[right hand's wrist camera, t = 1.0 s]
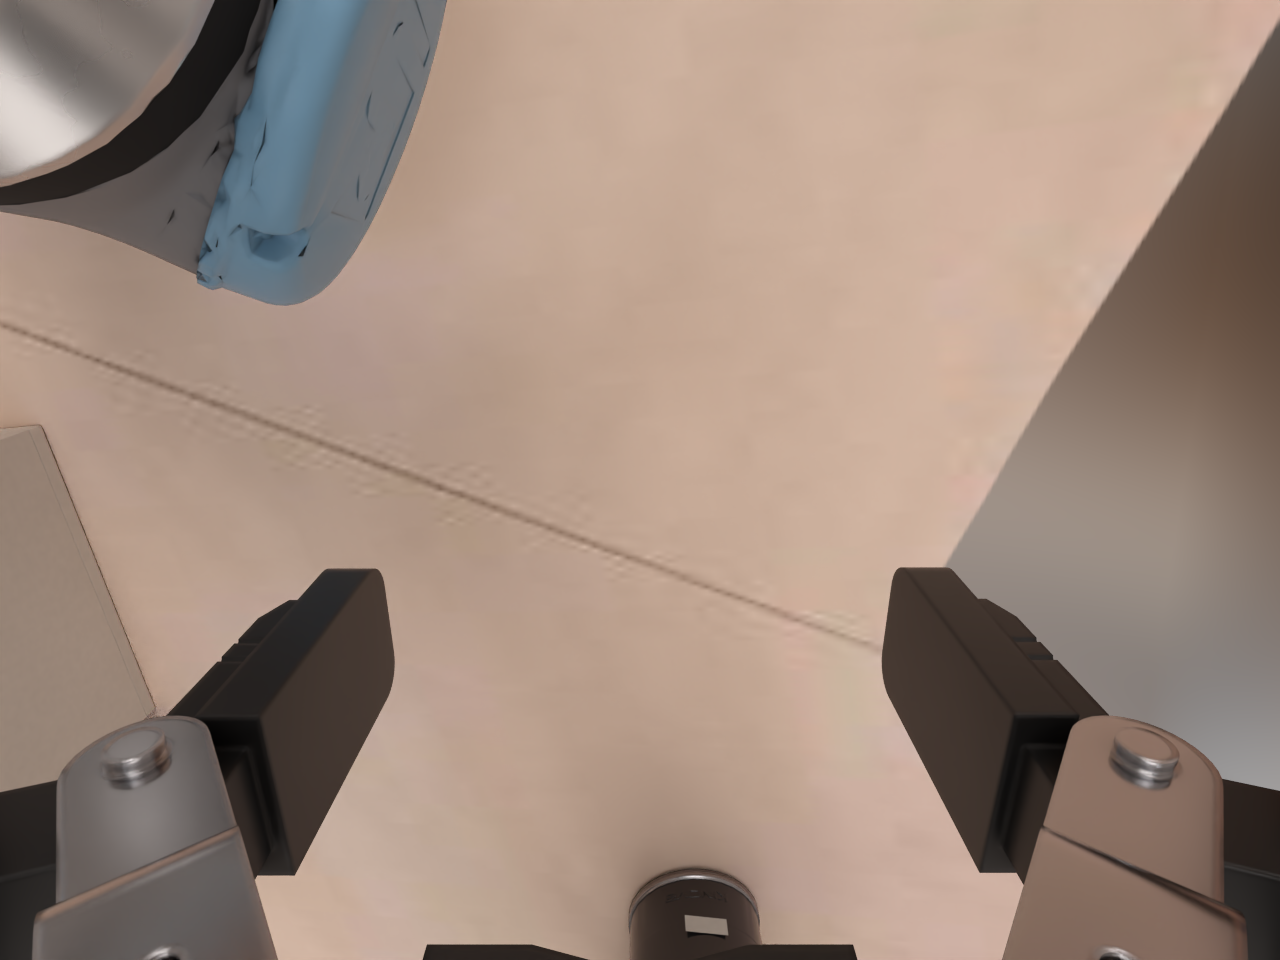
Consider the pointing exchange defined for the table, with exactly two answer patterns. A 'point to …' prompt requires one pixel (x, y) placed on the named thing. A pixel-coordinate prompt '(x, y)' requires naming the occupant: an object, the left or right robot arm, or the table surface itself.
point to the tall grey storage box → (54, 625)
